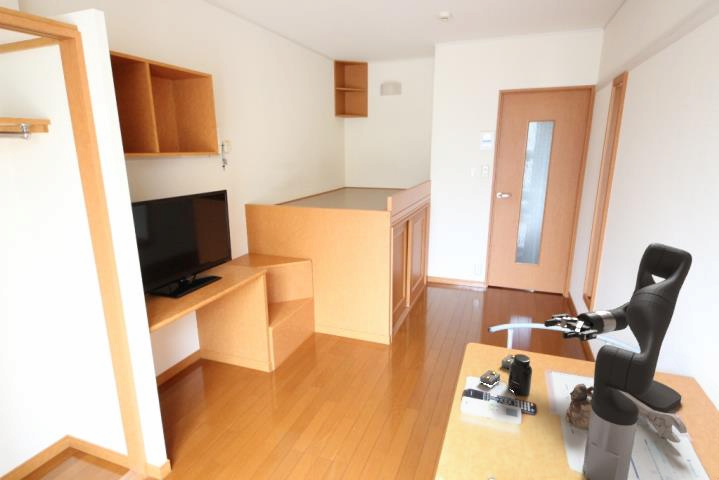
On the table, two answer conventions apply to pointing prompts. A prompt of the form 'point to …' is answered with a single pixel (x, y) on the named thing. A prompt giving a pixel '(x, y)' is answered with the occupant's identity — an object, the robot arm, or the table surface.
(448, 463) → the table surface
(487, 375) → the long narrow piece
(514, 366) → the supplement bottle
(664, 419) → the wrench
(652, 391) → the media streaming box
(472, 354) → the table surface
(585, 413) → the figurine
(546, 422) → the table surface
